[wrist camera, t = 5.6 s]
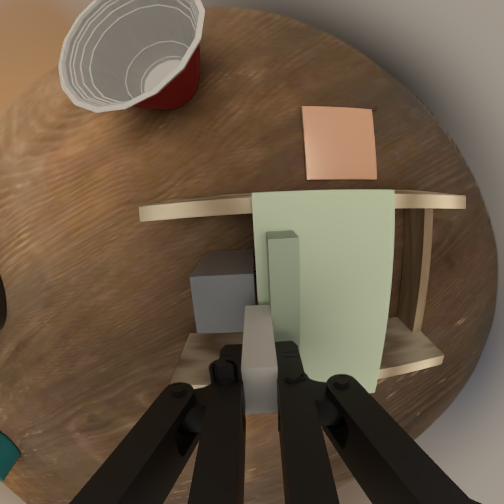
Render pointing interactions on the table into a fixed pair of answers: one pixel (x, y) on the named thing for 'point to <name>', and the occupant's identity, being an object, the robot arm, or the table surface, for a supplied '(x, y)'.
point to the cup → (7, 456)
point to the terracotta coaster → (338, 143)
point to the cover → (327, 275)
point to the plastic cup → (133, 54)
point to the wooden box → (398, 328)
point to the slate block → (223, 290)
